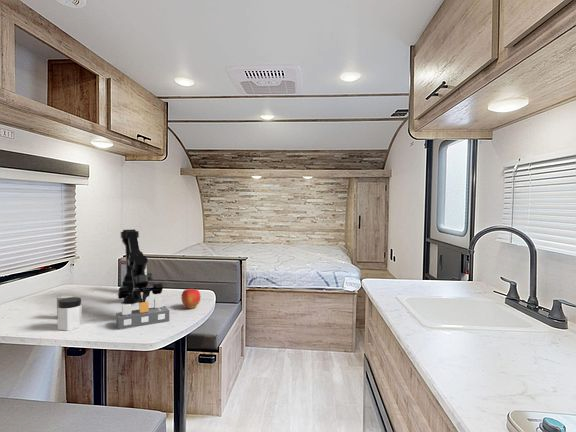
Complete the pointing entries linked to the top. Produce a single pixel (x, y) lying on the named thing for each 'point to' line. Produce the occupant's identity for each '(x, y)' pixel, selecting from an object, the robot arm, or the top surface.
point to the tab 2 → (143, 307)
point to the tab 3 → (158, 302)
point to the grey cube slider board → (142, 317)
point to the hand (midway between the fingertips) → (143, 306)
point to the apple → (190, 298)
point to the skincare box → (60, 299)
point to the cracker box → (123, 270)
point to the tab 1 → (126, 309)
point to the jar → (69, 313)
